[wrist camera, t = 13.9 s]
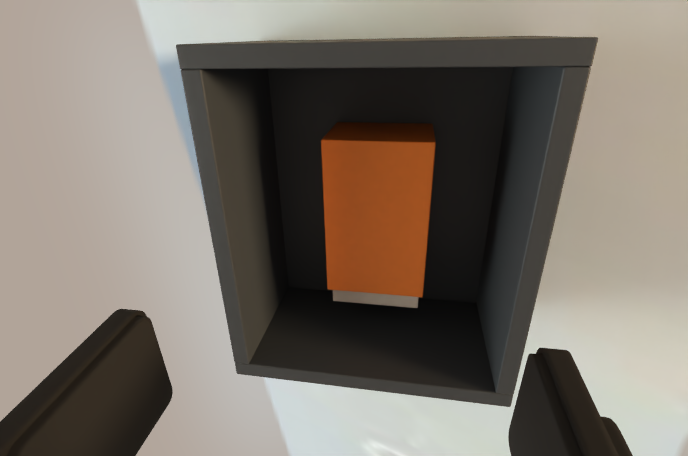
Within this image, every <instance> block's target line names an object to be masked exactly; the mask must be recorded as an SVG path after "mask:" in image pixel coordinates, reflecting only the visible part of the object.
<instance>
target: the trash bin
mask: <svg viewBox="0 0 688 456" xmlns="http://www.w3.org/2000/svg"><path fill="white" fill-rule="evenodd" d="M597 41H598V38H597V37H552V36H509V37H455V38H400V39H345V40H290V41H248V42H225V43H203V44H180V45H176V48H177V54H178V59H179V65H180V69H182V70H181V74H182V80H183V85H184V91H185V96H186V102H187V107H188V112H189V118H190V123H191V129H192V134H193V139H194V145H195V150H196V156H197V161H198V166H199V172H200V177H201V183H202V188H203V193H204V199H205V204H206V210H207V215H208V221H209V226H210V231H211V237H212V242H213V247H214V252H215V258H216V263H217V269H218V275H219V280H220V285H221V291H222V296H223V301H224V307H225V312H226V318H227V323H228V329H229V334H230V340H231V345H232V350H233V356H234V361H235V366H236V371H237V374H244V375H252V376H260V377H268V378H276V379H284V380H293V381H301V382H309V383H317V384H325V385H334V386H342V387H350V388H358V389H367V390H375V391H383V392H391V393H399V394H408V395H416V396H424V397H432V398H440V399H449V400H457V401H465V402H473V403H481V404H490V405H498V406H506V407H510V406H511V402H512V398H513V394H514V390H515V386H516V382H517V378H518V373H519V369H520V365H521V361H522V356H523V352H524V348H525V344H526V340H527V335H528V331H529V327H530V323H531V318H532V314H533V310H534V306H535V302H536V297H537V293H538V289H539V285H540V281H541V276H542V272H543V268H544V264H545V259H546V255H547V251H548V247H549V243H550V238H551V234H552V230H553V226H554V221H555V217H556V213H557V209H558V205H559V200H560V196H561V192H562V188H563V184H564V179H565V175H566V171H567V167H568V162H569V158H570V154H571V150H572V146H573V141H574V137H575V133H576V129H577V125H578V120H579V116H580V112H581V108H582V103H583V99H584V95H585V91H586V87H587V82H588V78H589V74H590V70H591V68H590V67H589V66H591V65H592V62H593V58H594V54H595V50H596V46H597ZM337 122H358V123H425V124H433V129H434V135H435V141H436V148H435V160H434V172H433V184H432V195H431V207H430V219H429V231H428V243H427V255H426V267H425V279H424V290H423V297H419V298H418V308H410V307H398V306H387V305H375V304H364V303H352V302H341V301H333V290H328V289H327V270H326V247H325V224H324V201H323V178H322V156H321V140H322V138H323V137H324V136H325V135H326V134H327V133H328V132H329V131H330V130H331V129H332V128H333V126H334V125H335V124H336V123H337Z"/></svg>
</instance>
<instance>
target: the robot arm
mask: <svg viewBox="0 0 688 456" xmlns="http://www.w3.org/2000/svg"><path fill="white" fill-rule="evenodd" d="M171 398H172V386H171V383H170V380H169V377H168V373H167V370H166V367H165V364H164V361H163V357H162V354H161V351H160V348H159V344H158V341H157V338H156V335H155V332H154V328H153V325H152V322H151V320H150V319H149V318H148V317H147V316H146V314H145V313H144V312H143V311H138V310H127V309H119V310H117V311H115V312H114V313H113V314H112V315H111V316H110V317H109V318H108V319H107V320H106V321H105V322H104V323H102V324H101V326H99V327H98V328H97V329H96V330H95V331H94V332H93V333H92V334H91V335H90V336H89V337H88V338H87V339H86V340H85V341H84V342H83V343H82V344H81V345H80V346H79V347H77V349H75V350H74V351H73V352H72V353H71V354H70V355H69V356H68V357H67V358H66V359H65V360H64V361H63V362H62V363H61V364H60V365H59V366H58V367H57V368H56V369H55V370H54V371H53V372H52V373H50V374H49V376H47V377H46V378H45V379H44V380H43V381H42V382H41V383H40V384H39V385H38V386H37V387H36V388H35V389H34V390H33V391H32V392H31V393H30V394H29V395H28V396H27V397H26V398H25V399H24V400H22V401H21V402H20V403H19V404H18V405H17V406H16V407H15V408H14V409H13V410H12V411H11V412H10V413H9V414H8V415H7V416H6V417H5V418H4V419H3V420H2V421H1V422H0V456H135V455H136V454H137V452H138V451H139V449H140V448H141V446H142V445H143V443H144V441H145V440H146V438H147V437H148V435H149V434H150V432H151V431H152V429H153V428H154V426H155V424H156V423H157V421H158V420H159V418H160V417H161V415H162V413H163V412H164V410H165V409H166V407H167V406H168V404H169V402H170V400H171ZM509 447H510V452H511V456H632V454H631V452H630V450H629V448H628V446H627V444H626V442H625V440H624V438H623V436H622V434H621V432H620V430H619V428H618V427H617V425H616V424H615V422H613V421H612V420H611V419H610V418H607V417H600V415H599V413H598V411H597V409H596V407H595V404H594V402H593V400H592V398H591V396H590V394H589V392H588V389H587V387H586V385H585V383H584V381H583V379H582V377H581V375H580V372H579V370H578V368H577V366H576V364H575V362H574V360H573V358H572V356H571V354H570V352H569V351H567V350H558V349H548V348H539V349H538V350H537V353H536V354H529V356H528V359H527V363H526V366H525V370H524V374H523V378H522V382H521V386H520V390H519V394H518V397H517V401H516V405H515V409H514V413H513V417H512V421H511V425H510V428H509Z"/></svg>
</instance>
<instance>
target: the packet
mask: <svg viewBox="0 0 688 456" xmlns="http://www.w3.org/2000/svg"><path fill="white" fill-rule="evenodd" d="M435 148H436V141H435V135H434V129H433V124H425V123H358V122H337V123H336V124H335V125H334V126H333V128H332V129H331V130H330V131H329V132H328V133H327V134H326V135H325V136H324V137H323V138H322V140H321V156H322V178H323V201H324V224H325V247H326V270H327V289H328V290H333V301H341V302H352V303H364V304H375V305H387V306H398V307H410V308H418V298H419V297H423V290H424V279H425V267H426V255H427V243H428V231H429V219H430V207H431V195H432V184H433V172H434V160H435Z"/></svg>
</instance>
